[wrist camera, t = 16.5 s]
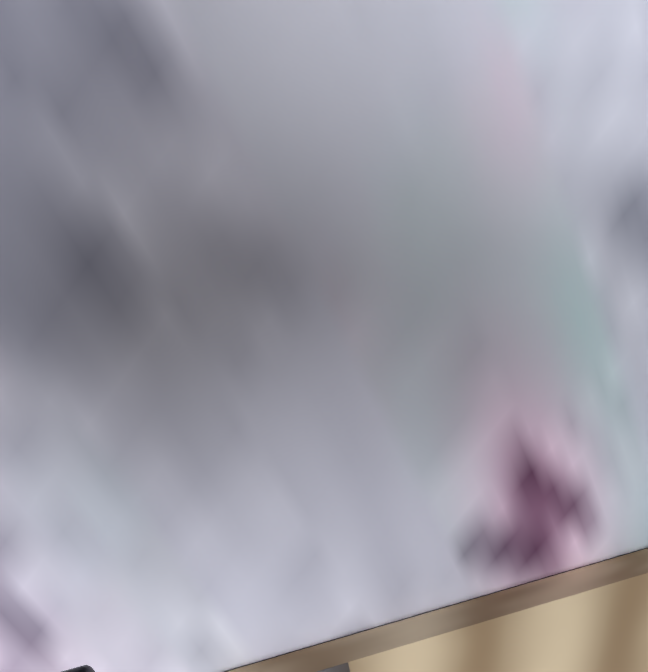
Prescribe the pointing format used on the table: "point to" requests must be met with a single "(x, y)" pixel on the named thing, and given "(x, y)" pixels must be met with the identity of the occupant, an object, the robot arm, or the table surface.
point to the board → (507, 630)
